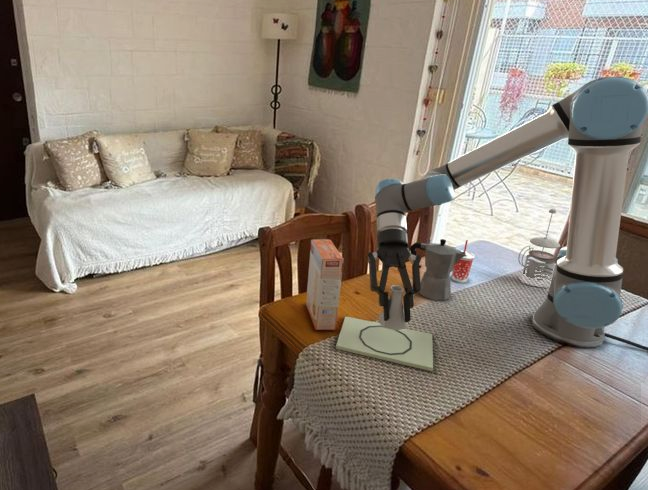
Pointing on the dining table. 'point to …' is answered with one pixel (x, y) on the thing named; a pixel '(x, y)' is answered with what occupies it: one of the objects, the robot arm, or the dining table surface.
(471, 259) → the beverage cup
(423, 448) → the dining table surface
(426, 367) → the drawing board
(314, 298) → the cracker box
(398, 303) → the flask
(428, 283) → the coffeepot
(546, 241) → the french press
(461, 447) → the dining table surface
